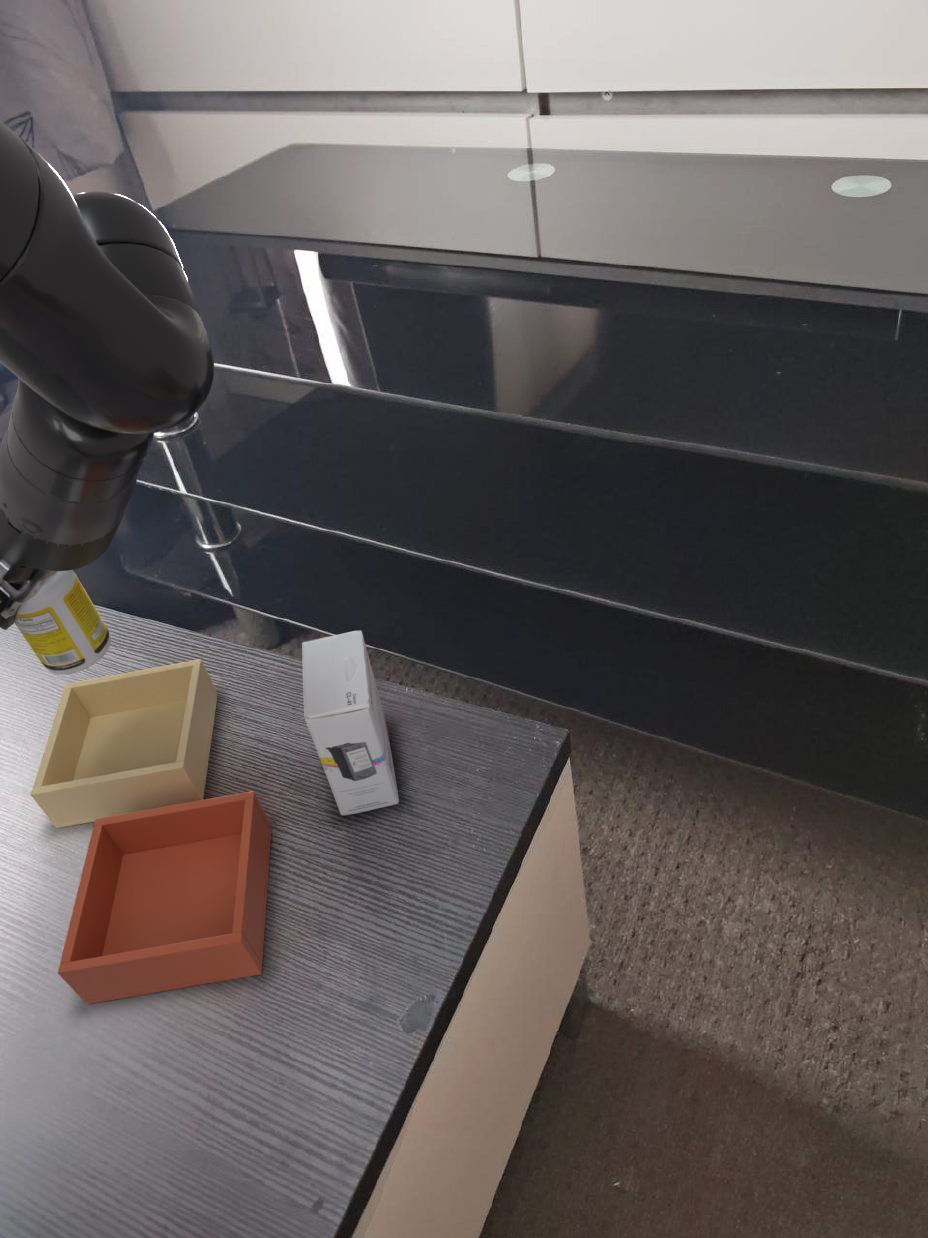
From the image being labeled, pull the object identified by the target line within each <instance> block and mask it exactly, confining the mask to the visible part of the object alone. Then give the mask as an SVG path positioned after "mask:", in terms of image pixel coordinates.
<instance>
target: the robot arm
mask: <svg viewBox="0 0 928 1238" xmlns="http://www.w3.org/2000/svg"><path fill="white" fill-rule="evenodd" d="M205 327H206V326H205V324H204V320H203V319H202V317H201V314H200V311H199V308H198V306H197V302H196V300H195V297H194V293H193V291H192V289H191V286H190V282H189V280H188V277H187V274H186V273H185V269H184V266H183V263H182V261H181V258H180V256H179V253H178V251H177V249H176V246H175V243H174V241H173V239H172V238H171V236H170V234H169V232H168V230H167V229H166V227H165V225H163V224H162V222H161V221H160V220H159V219H158V218H157V217H156V216H155V215H154V214H153V213H152V212H151V211H150V210H149V209H147V207H145V206H144V205H141V204H140V203H138V202H137V201H135V200H133V199H131V198H129V197H127V196H124V195H121V194H118V193H114V192H108V191H87V192H80V193H75V194H72V193H71V191H70V189H69V188H68V186H67V184H66V183H65V181H64V180H63V179H62V177H61V175H59V173H58V172H57V171H56V170H55V168H54V167H52V165H51V164H50V163H49V162H48V161H47V160H46V159H45V158H44V157H43V156H42V154H40V152H38V151H37V150H36V149H35V148H34V147H32V145H30V143H28V142H27V141H26V140H25V139H23V138H22V137H21V136H19V135H18V134H17V133H16V132H14V130H12V129H11V128H10V127H9V126H8V125H6V123H4V122H3V121H2V120H0V364H2V366H4V367H5V368H6V369H7V370H9V371H10V373H12V374H13V375H14V376H15V377H17V389H16V393H15V396H14V398H13V403H12V406H11V407H12V408H11V411H10V417H9V422H8V428H7V430H6V431H5V434H4V436H3V437H2V440H1V441H0V629H2V630H4V631H7V630H8V629H9V628H11V627H12V626H13V625H15V623H14V621H15V618H16V615H17V612H18V609H19V606H20V604H21V603H24V602H26V601H27V600H29V599H30V598H32V597H33V596H35V595H36V594H37V593H38V592H39V590H40V589H41V587H42V586H43V584H44V583H45V581H46V580H47V579H48V578H49V577H51V576H52V575H54V574H55V573H56V572H57V571H69V570H73V571H74V572H75V573H76V571H77V570H78V569H81V568H84V567H86V566H88V565H90V564H92V563H93V562H95V561H97V560H98V559H99V558H100V557H101V556H103V554H105V552H106V551H107V550H108V549H109V547H110V545H111V544H112V542H113V539H114V537H115V535H116V533H117V531H118V529H119V526H120V524H121V523H122V520H123V518H124V516H125V514H126V512H127V509H128V507H129V505H130V502H131V500H132V498H133V496H134V493H135V490H136V486H137V482H138V481H137V480H138V474H139V472H140V470H141V467H142V465H143V463H144V460H145V458H146V457H147V454H148V452H149V449H150V448H151V445H152V443H153V440H154V435H155V434H156V433H161V432H165V431H168V430H170V429H172V428H174V427H176V426H179V425H181V424H183V423H184V422H186V421H188V420H189V419H190V418H191V417H193V416H194V415H195V414H196V413H197V412H198V410H199V409H200V408H201V407H202V406H203V404H204V403H205V401H206V400H207V398H208V396H209V394H210V391H211V389H212V385H213V383H214V382H213V381H214V378H215V377H214V376H215V360H214V353H213V348H212V344H211V340H210V337H209V335H208V332H207V329H206V328H205ZM27 581H30V582H29V583H28V582H27ZM1 588H3V589H4V590H5V591H6V592H7V593H8V594H9V595H10V597H9V596H8V595H6V594H5V593H4V592H3V591H2V590H1Z"/></svg>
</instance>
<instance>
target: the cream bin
mask: <svg viewBox="0 0 928 1238" xmlns="http://www.w3.org/2000/svg"><path fill="white" fill-rule="evenodd" d="M218 696H219V693H218V691H217V689H216V687H215V684H214V683H213V680H212V679H211V677H210V675H209V673H208V671H207V668H206V667H205V665H204V662H203V660H202V659H201V658H200V659H193V660H189V661H182V662H177V663H173V664H172V663H171V664H167V665H161V666H156V667H150V668H144V669H140V670H139V669H138V670H133V671H129V672H123V673H118V674H113V675H112V674H111V675H106V676H101V677H95V678H90V679H85V680H80V681H74V682H69V683H65V685H64V688H63V691H62V695H61V697H60V701H59V704H58V707H57V710H56V713H55V717H54V720H53V723H52V726H51V729H50V733H49V736H48V739H47V742H46V745H45V747H44V752H43V755H42V758H41V760H40V765H39V767H38V770H37V773H36V777H35V781H34V782H33V786H32V789H31V792H30V796H31V797H32V799H33V800H34V801H35V802H36V804H37V805H38V806H39V807H40V809H41V810H42V812H43V813H44V814H45V815H46V817H47V818H48V819H49V821H50V822H51V823H52V824H53V826H54V827H55V828H56V829H62V828H67V827H72V826H76V825H82V824H88V823H95V820H96V819H100V818H106V817H111V816H117V815H123V814H128V813H134V812H139V811H145V810H151V809H156V808H162V807H167V806H173V805H178V804H184V803H190V802H195V801H201V800H204V797H205V790H206V781H207V775H208V768H209V760H210V754H211V752H210V751H211V745H212V738H213V732H214V726H215V725H214V724H215V717H216V712H217V711H216V710H217V704H218V703H217V702H218Z"/></svg>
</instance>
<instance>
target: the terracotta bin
mask: <svg viewBox="0 0 928 1238" xmlns="http://www.w3.org/2000/svg"><path fill="white" fill-rule="evenodd" d="M272 829H273V828H272V823H271V821H270V820H269V818H268V816H267V814H266V812H265V810H264V808H263V806H262V804H261V802H260V799H259V798H258V796H257V794H256V792H255V790H252V791H245V792H240V793H235V794H234V793H233V794H228V795H223V796H217V797H213V798H207V799H203V800H201V801H195V802H190V803H184V804H178V805H173V806H167V807H162V808H156V809H151V810H145V811H139V812H134V813H128V814H123V815H117V816H111V817H106V818H100V819H96V820H95V821H94V822H93V827H92V831H91V836H90V840H89V843H88V847H87V852H86V855H85V858H84V859H85V860H84V864H83V868H82V872H81V876H80V880H79V884H78V888H77V892H76V896H75V899H74V900H75V901H74V905H73V908H72V913H71V917H70V921H69V924H68V930H67V933H66V938H65V942H64V945H63V950H62V954H61V958H60V962H59V966H58V970H57V974H58V975H59V976H60V978H61V979H62V980H64V981H65V983H66V984H67V985H68V986H69V987H70V988H71V989H72V990H73V991H74V992H75V993H76V995H78V996H79V997H80V999H81V1000H82V1001H83V1002H84V1003H85V1004H86V1005H91V1004H97V1003H103V1002H104V1003H105V1002H108V1001H114V1000H119V999H125V998H132V997H138V996H143V995H150V994H155V993H160V992H166V991H171V990H172V991H173V990H177V989H183V988H184V989H185V988H189V987H195V986H201V985H207V984H212V983H218V982H224V981H229V980H236V979H241V978H247V977H252V976H258V975H262V974H263V962H264V961H263V960H264V944H265V929H266V916H267V915H266V914H267V900H268V887H269V871H270V856H271V842H272Z"/></svg>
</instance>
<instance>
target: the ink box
mask: <svg viewBox="0 0 928 1238" xmlns="http://www.w3.org/2000/svg"><path fill="white" fill-rule="evenodd" d="M365 641H366V640H365V638H364V633H363V631H362V630H361V629H360V630H359V629H358V630H353V631H348V632H343V633H339V634H334V635H329V636H326V637H319V638H315V639H309V640H306V641H303V642H301V659H302V660H301V661H302V663H301V664H302V693H303V694H302V695H303V716H304V721H305V723H306V726H307V729H308V731H309V734H310V736H311V740H312V742H313V745H314V748H315V750H316V753H317V755H318V758H319V761H320V763H321V765H322V768H323V770H324V774H325V776H326V779H327V782H328V784H329V788H330V790H331V792H332V796H333V798H334V800H335V803H336V806H337V808H338V811H339V814H340V816H349V815H356V814H359V813H364V812H369V811H373V810H377V809H383V808H387V807H390V806H395V805H398V804H399V803H400V798H399V791H398V786H397V785H398V783H397V780H396V779H397V778H396V772H395V766H394V760H393V755H392V749H391V742H390V735H389V730H388V724H387V720H386V715H385V712H384V708H383V705H382V701H381V697H380V694H379V690H378V687H377V686H378V685H377V682H376V679H375V675H374V671H373V667H372V664H371V660H370V657H369V652H368V648H367V644H366V642H365Z"/></svg>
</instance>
